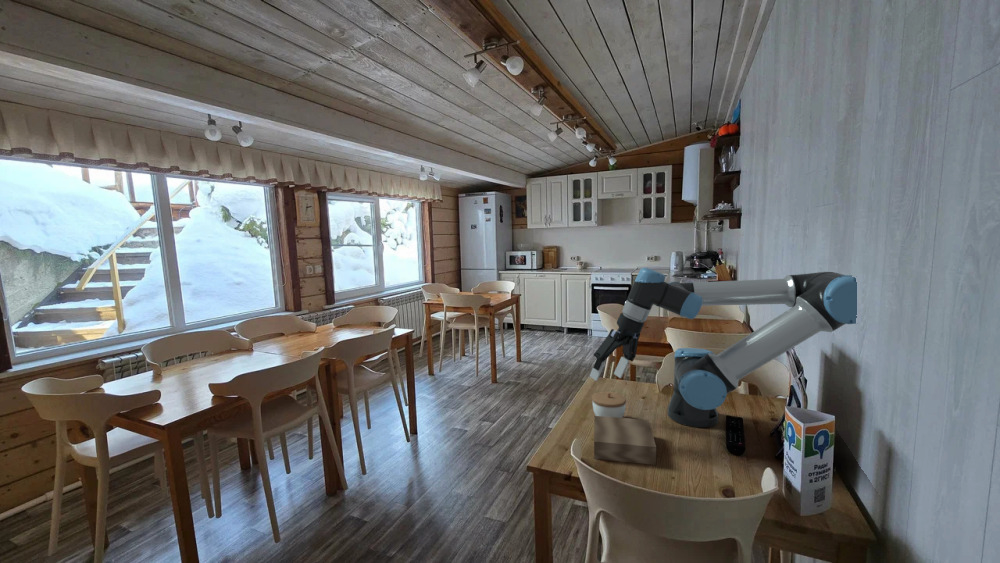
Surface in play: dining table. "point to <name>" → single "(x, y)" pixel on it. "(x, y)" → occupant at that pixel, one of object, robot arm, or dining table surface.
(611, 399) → the lidded jar
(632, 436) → the block
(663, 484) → the dining table surface
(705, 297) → the robot arm
